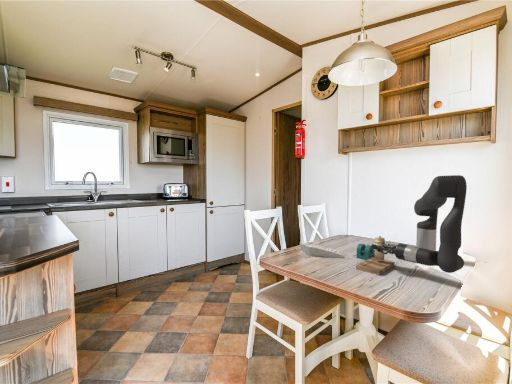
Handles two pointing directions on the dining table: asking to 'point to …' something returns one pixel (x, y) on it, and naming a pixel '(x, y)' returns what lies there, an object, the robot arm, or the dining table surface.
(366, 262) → the board
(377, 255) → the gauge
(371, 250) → the bracket
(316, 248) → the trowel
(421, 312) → the dining table surface
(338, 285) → the dining table surface
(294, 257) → the dining table surface
